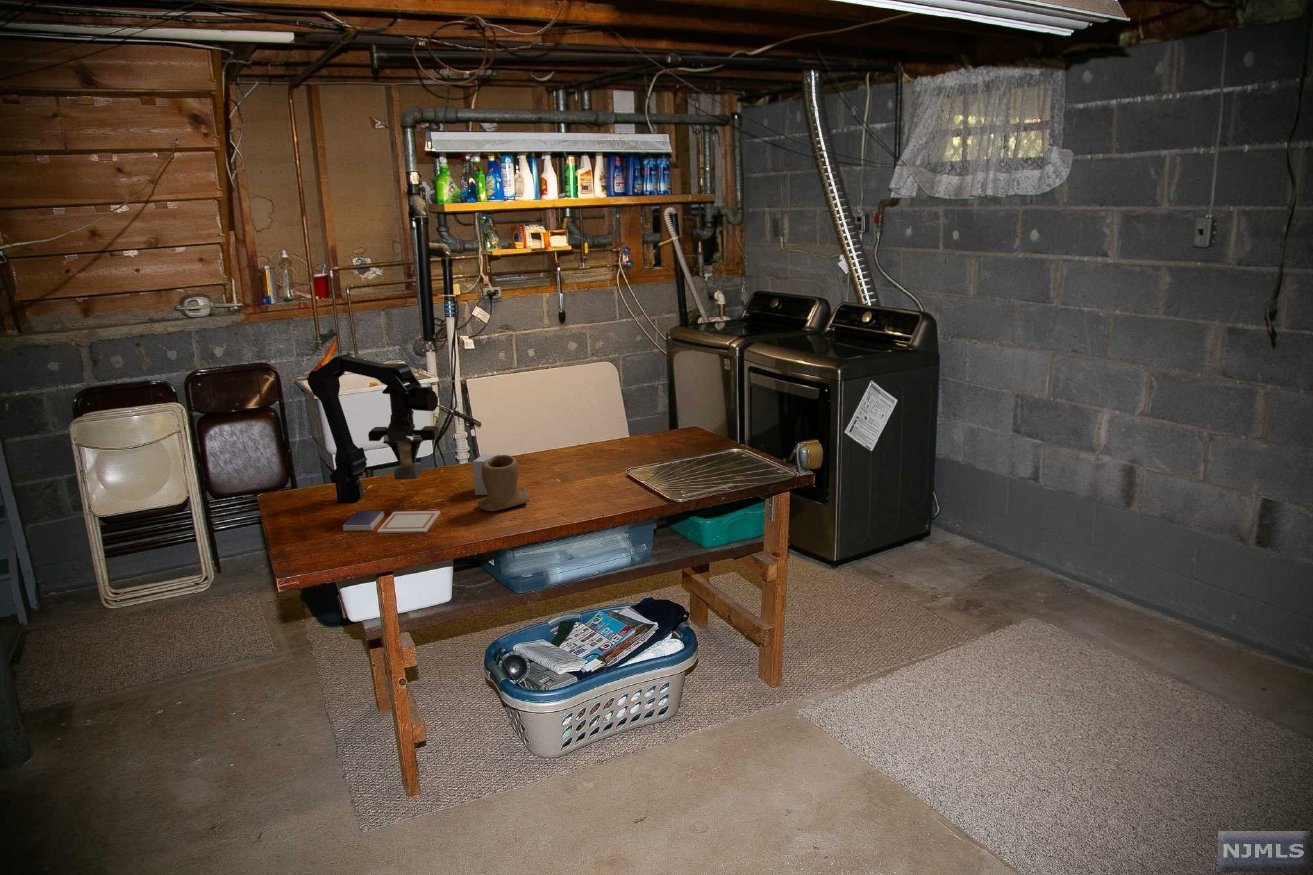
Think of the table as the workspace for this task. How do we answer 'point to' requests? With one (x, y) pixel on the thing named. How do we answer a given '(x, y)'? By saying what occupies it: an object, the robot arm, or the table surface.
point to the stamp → (406, 462)
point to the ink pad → (363, 520)
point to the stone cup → (501, 484)
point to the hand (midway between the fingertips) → (407, 462)
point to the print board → (409, 522)
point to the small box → (480, 474)
